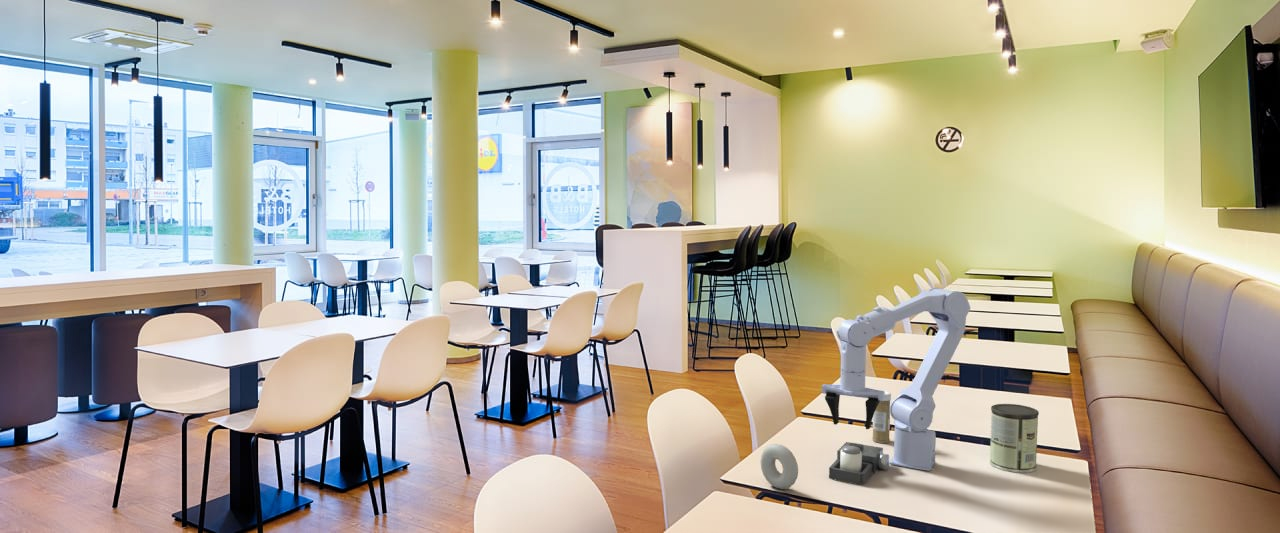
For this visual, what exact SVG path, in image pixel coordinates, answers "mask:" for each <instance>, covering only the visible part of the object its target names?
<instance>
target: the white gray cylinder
mask: <svg viewBox="0 0 1280 533" xmlns="http://www.w3.org/2000/svg"><path fill="white" fill-rule="evenodd" d="M842 446H843V445H842ZM842 446H841V447H842ZM861 467H862V452H861V451H860V448H859V447H856V446H843V447H842V449H841V451H840V469H844V470H849V471H855V472H860V473H861Z"/></svg>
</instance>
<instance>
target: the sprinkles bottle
mask: <svg viewBox="0 0 1280 533" xmlns="http://www.w3.org/2000/svg"><path fill="white" fill-rule="evenodd" d="M884 391H885V398H884V400H883V401H880V402H879V404H878V406H877V408H876V410H875V412H874V415H873V418H872V441H874V442H875V443H880V444H887V443H889V442H890V440H891V439H890V430H891V418H890V417H891V414H890V405H891V399H892V394H891V392H890V391H887V390H884Z"/></svg>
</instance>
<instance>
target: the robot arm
mask: <svg viewBox="0 0 1280 533" xmlns="http://www.w3.org/2000/svg"><path fill="white" fill-rule="evenodd" d="M970 310H971V305H970V303H969V300H968V297H967V296H966V295H965V293H963V292H961V291H958V290H957V291H956V290H949V289H943V288H939V287H932V288H930V289H928V290H923V291H921V292H920V293H919V294H917V295H915V296H913V297H912V298H911V297H910V299H907V300H905V301H903V302H902V303H900V304H897V305H895V306H893V307H891V308H887V307H883V306H882V307H881V306H876V307H874V308H873V311H870V312H868V313H865V314H864V315H861V314H859V315H857V316H856V318H855V319H851V318H850V319H845V320H843V321H842V322H841V324H840V325H839V326H838V329H837V330H836V336H837V338H838V339H839V341H840V384H828V383H823V384H822V385H821V394H825V395H824V399H825V402H826V404H827V406H828V407H829V410H830V413H831V417H832V423H833V425H835V426H836V425H838V424H839V423H840V422H839V421H840V413H839V412H840V411H839V410H840V408H839V407H840V398H841V396H845V397H846V396H848V397H856V398H862V399H863V398H864V399H866V401H865V415H866V417H865V429H866V430H869V429H870V428H872V423H873V415H874V412H875V410H876V408H877V406H878V404H879V402H880V401H883V400H884V398H885V391H886V390H879V389H875V388H870V387H866V371H867V369H866V368H867V367H866V365H867V364H866V363H867V362H866V361H867V345H868V344H869V343H870V342H871V340H872V339H873V338H876V337H877V336H880V335H882V334H884V333H887V332H889V331H891V330H893V329H894V328H895V327H896V323H897V322H899V321H902V320H905V319H907V318H910V317H914V316H916V315H918V314H922V313H923V312H928V313H929V314H930V316H931V317H932V319H934V321H935V322H936V326H937V328H938V330H937V333H936V334H935V337H934V339H933V340H932V342H931V344H930V346H929V349H928V351H927V352H926V354H925V357H924V358H923V360H922V362H921V364H920V366H919V369H917V372H916V374H915V375H914V376H915V377H914V378H913V380H912V382H911V384H910V385H909V386H907V387H905V388H903V389H901V390H900V393H899V394H898V395H897V397H895V398H894V399H893V400H892V401H891V402H890V417H891V418H892V419H894V420H893V422H894V423H893V424H894V442H893V443H894V446H893V456H892V458H891V459H890V460H889V465H892V466H898V467H904V468H910V469H915V470H916V469H917V470H921V471H927V472H928V471H929V472H930V471H931V470H932V468H933V467H934V465H935V463H936V439H937V438H936V431H934V430H930V429H928V428H930V426H931V424H932V423H933V418H934V415H933V414H934V411H935V409H936V404H935V400H934V398H933V395H934V393H935V392H936V390H937V387H938V385H939V384H940V382H941V380H942V378H943V375H944V373H945V371H946V370H947V367H948V366H949V364H950V361H951V360H952V358H953V356H954V354H955V352H956V350H957V348H958V346H959V344H960V343H961V340H962V338H963V336H964V334H965V331H966V323H967V316H968V314H969V311H970Z"/></svg>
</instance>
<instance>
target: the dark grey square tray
mask: <svg viewBox="0 0 1280 533" xmlns="http://www.w3.org/2000/svg"><path fill="white" fill-rule="evenodd" d="M828 473H829V474H828V479H832V480H834V479H836V480H835V481H839V480H840V481H839V482H844V481H845V482H846V483H850V482H851V483H850V484H855V483H856V485H863V484H864V485H865V484H866V483H867V482H868V481H869V480H870V478H871V477H872V476H873V473H872V464H869V463H865V462H862V467H861V473H860V472H855V471H849V470H844V469H840V459H839V458H838V459H837V458H836V460H835V461H834V462H833V463H832V464H831V465H830V466H829V468H828Z"/></svg>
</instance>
